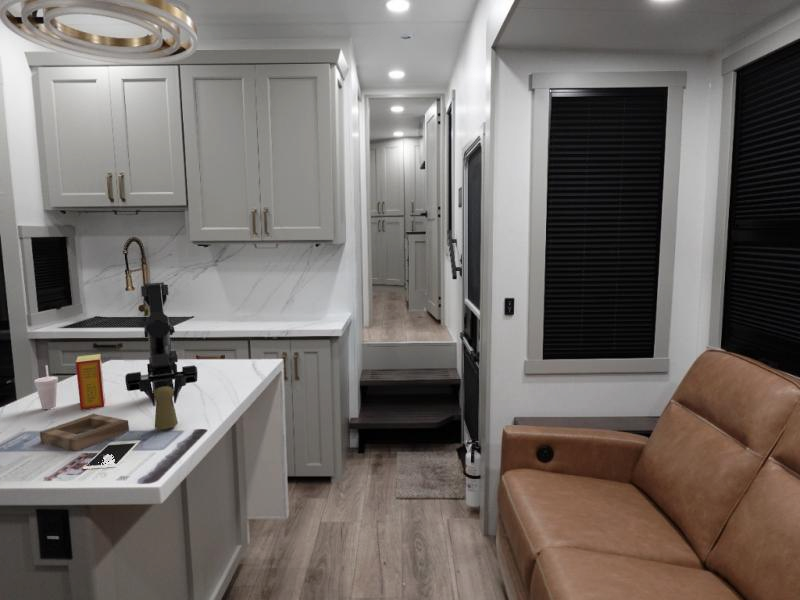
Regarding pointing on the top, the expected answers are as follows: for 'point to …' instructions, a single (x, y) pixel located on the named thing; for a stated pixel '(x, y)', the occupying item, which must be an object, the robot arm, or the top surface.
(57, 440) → the walnut socket
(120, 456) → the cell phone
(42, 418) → the top surface
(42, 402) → the smoothie
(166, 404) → the cork
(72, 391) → the top surface
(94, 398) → the baking soda box
